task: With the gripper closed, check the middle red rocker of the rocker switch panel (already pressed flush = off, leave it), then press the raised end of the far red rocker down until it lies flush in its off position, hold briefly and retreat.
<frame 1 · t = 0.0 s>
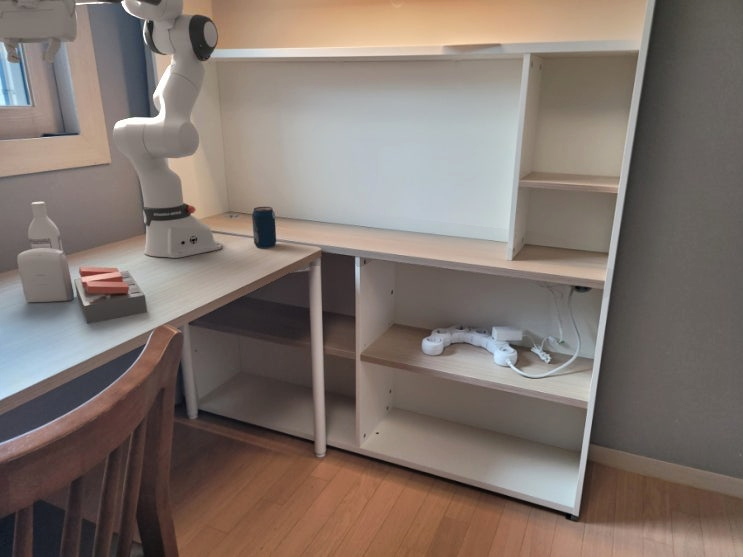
hand: (30, 62, 116), 52 cm above the table, tool tilted 20°, fingers open, 8 cm apart
rocker 3: (107, 287, 119), point 6 cm above the table, hinge at 12.0°
soda can: (265, 246, 172), on the table
bath foam: (52, 279, 141), on the table
rocker 1: (99, 272, 128), point 6 cm above the table, hinge at 12.0°
rocker switch panel: (110, 302, 126), on the table
photo printer: (50, 300, 127), on the table
rocker 2: (101, 279, 123), point 6 cm above the table, hinge at 0.0°
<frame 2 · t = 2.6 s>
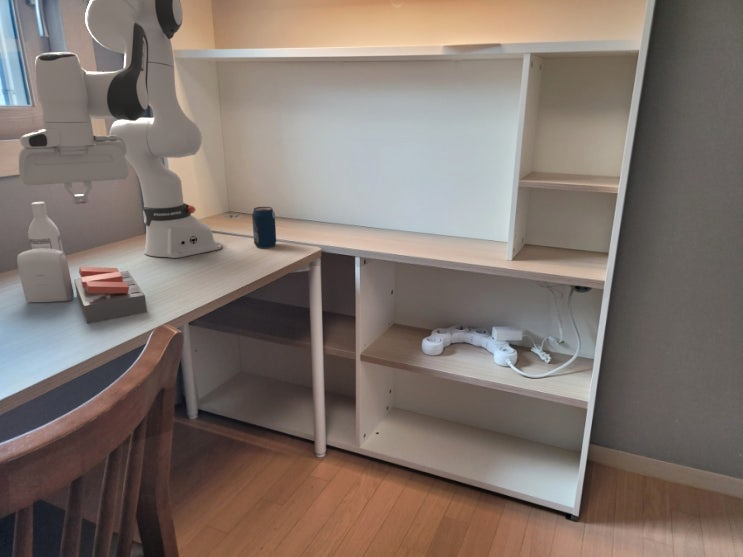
hand: (80, 203, 116), 24 cm above the table, tool pointing down, fingers closed
nothing on the table moved.
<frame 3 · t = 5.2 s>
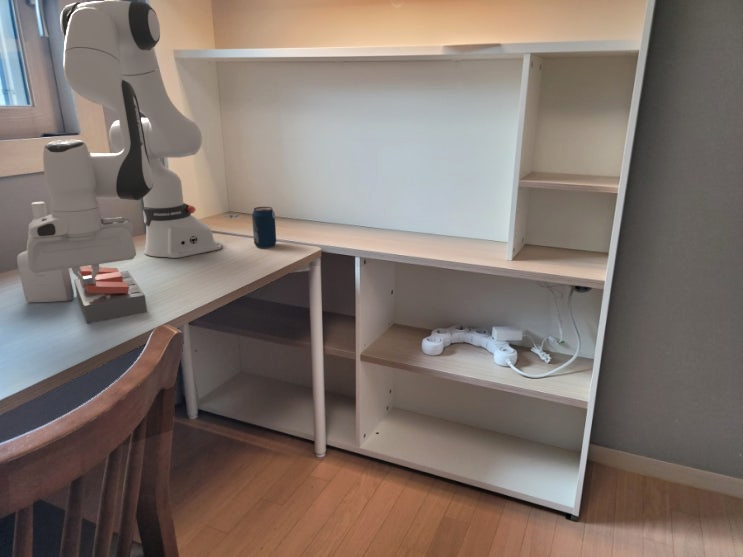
hand: (88, 284, 116), 7 cm above the table, tool pointing down, fingers closed, pressing on rocker 3
rocker 3: (107, 287, 119), point 6 cm above the table, hinge at 11.8°, touching gripper
everything else where it was.
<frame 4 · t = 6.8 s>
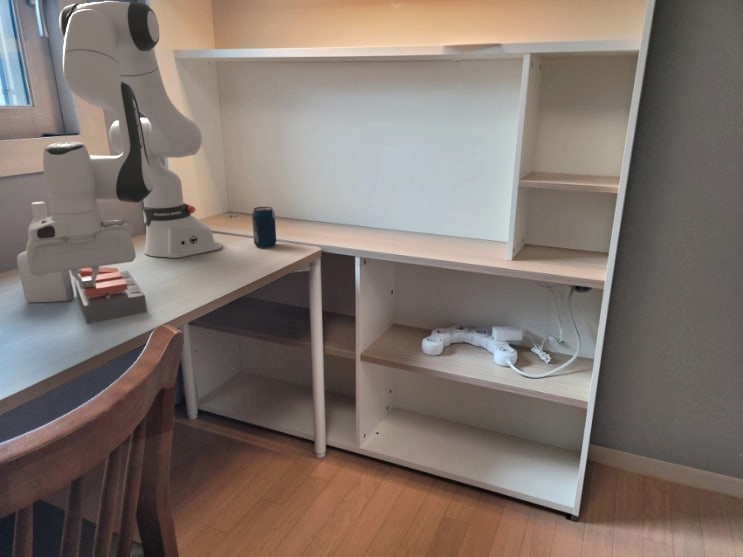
hand: (88, 287, 116), 7 cm above the table, tool pointing down, fingers closed, pressing on rocker 3
rocker 3: (105, 287, 119), point 6 cm above the table, hinge at -0.4°, touching gripper
everything else where it was.
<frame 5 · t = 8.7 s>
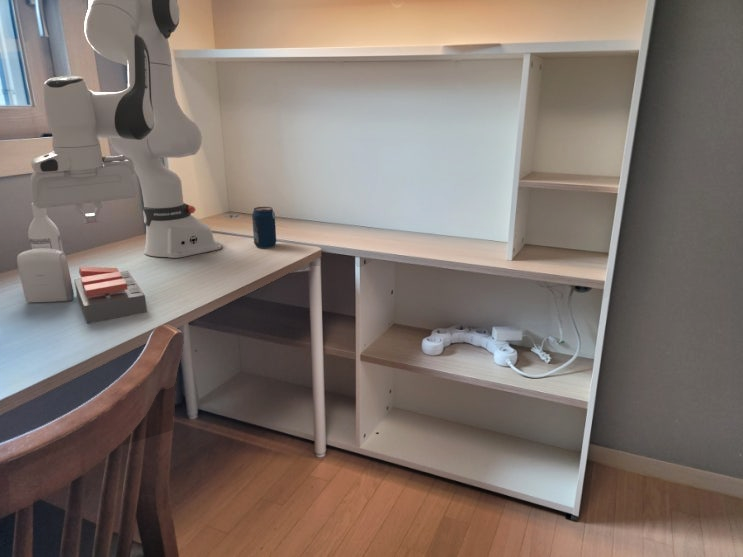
hand: (91, 222, 119), 19 cm above the table, tool pointing down, fingers closed
rocker 3: (105, 287, 119), point 6 cm above the table, hinge at -0.9°
everything else where it was.
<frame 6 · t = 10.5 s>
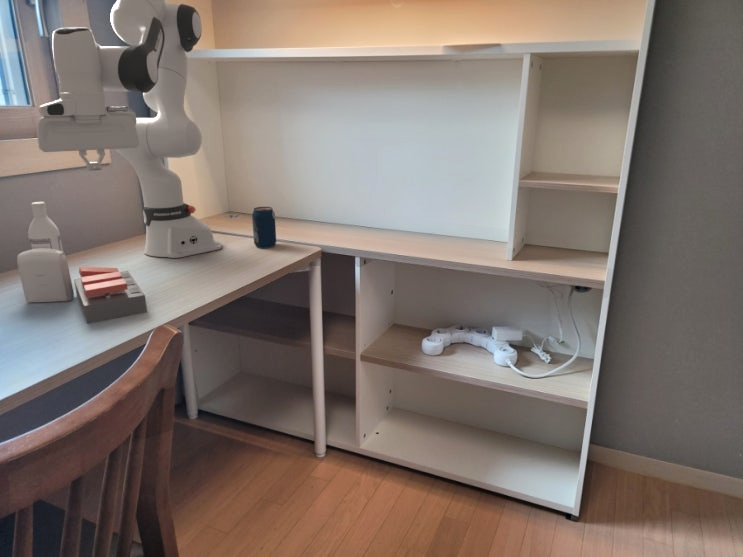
hand: (94, 170, 124), 29 cm above the table, tool pointing down, fingers closed
nothing on the table moved.
at the end: rocker 3 at -1° (first picture: +12°); rocker 1 at +12° (first picture: +12°); rocker 2 at +0° (first picture: +0°) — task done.
